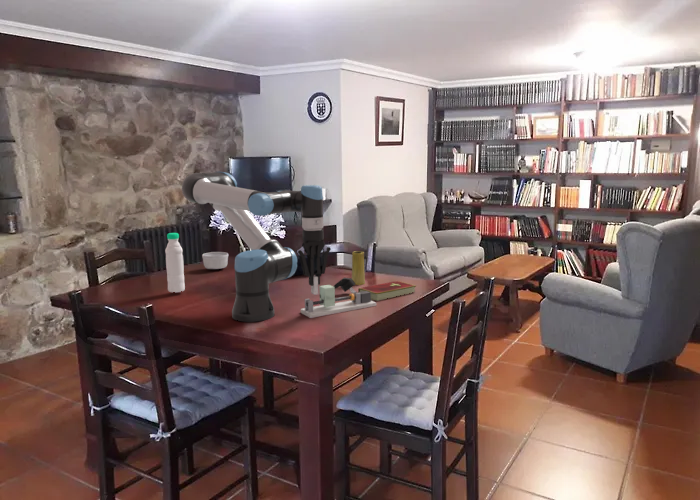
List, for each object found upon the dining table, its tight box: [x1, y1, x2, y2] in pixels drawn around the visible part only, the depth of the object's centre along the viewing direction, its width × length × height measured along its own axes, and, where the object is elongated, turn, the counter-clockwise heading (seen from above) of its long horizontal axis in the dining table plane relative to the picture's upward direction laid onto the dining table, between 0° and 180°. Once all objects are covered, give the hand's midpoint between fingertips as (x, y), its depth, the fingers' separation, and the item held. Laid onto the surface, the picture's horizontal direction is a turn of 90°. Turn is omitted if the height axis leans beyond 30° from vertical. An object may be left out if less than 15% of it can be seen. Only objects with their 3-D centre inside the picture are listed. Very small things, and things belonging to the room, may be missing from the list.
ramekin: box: [201, 251, 229, 270], centre depth 285 cm, size 13×13×7 cm
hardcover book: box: [358, 280, 417, 302], centre depth 225 cm, size 12×21×4 cm, turn 127°
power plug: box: [332, 277, 356, 294], centre depth 227 cm, size 6×8×12 cm
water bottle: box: [164, 232, 186, 293], centre depth 233 cm, size 7×7×25 cm
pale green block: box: [318, 284, 336, 307], centre depth 201 cm, size 4×4×7 cm
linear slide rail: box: [300, 290, 377, 319], centre depth 204 cm, size 28×8×6 cm, turn 121°
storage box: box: [291, 254, 322, 277], centre depth 268 cm, size 21×16×10 cm
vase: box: [351, 250, 366, 286], centre depth 244 cm, size 6×6×14 cm
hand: (314, 293), depth 198 cm, fingers closed
